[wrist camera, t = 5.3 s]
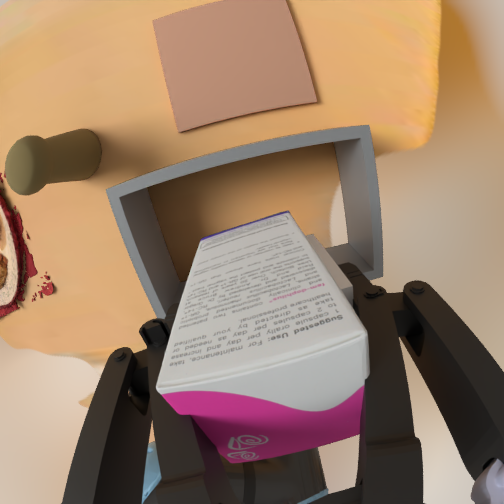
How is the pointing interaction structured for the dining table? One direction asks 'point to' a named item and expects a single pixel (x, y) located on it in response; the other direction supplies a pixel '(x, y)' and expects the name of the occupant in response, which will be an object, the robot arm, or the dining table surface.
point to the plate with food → (14, 260)
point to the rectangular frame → (345, 142)
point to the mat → (232, 61)
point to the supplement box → (265, 345)
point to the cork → (52, 160)
